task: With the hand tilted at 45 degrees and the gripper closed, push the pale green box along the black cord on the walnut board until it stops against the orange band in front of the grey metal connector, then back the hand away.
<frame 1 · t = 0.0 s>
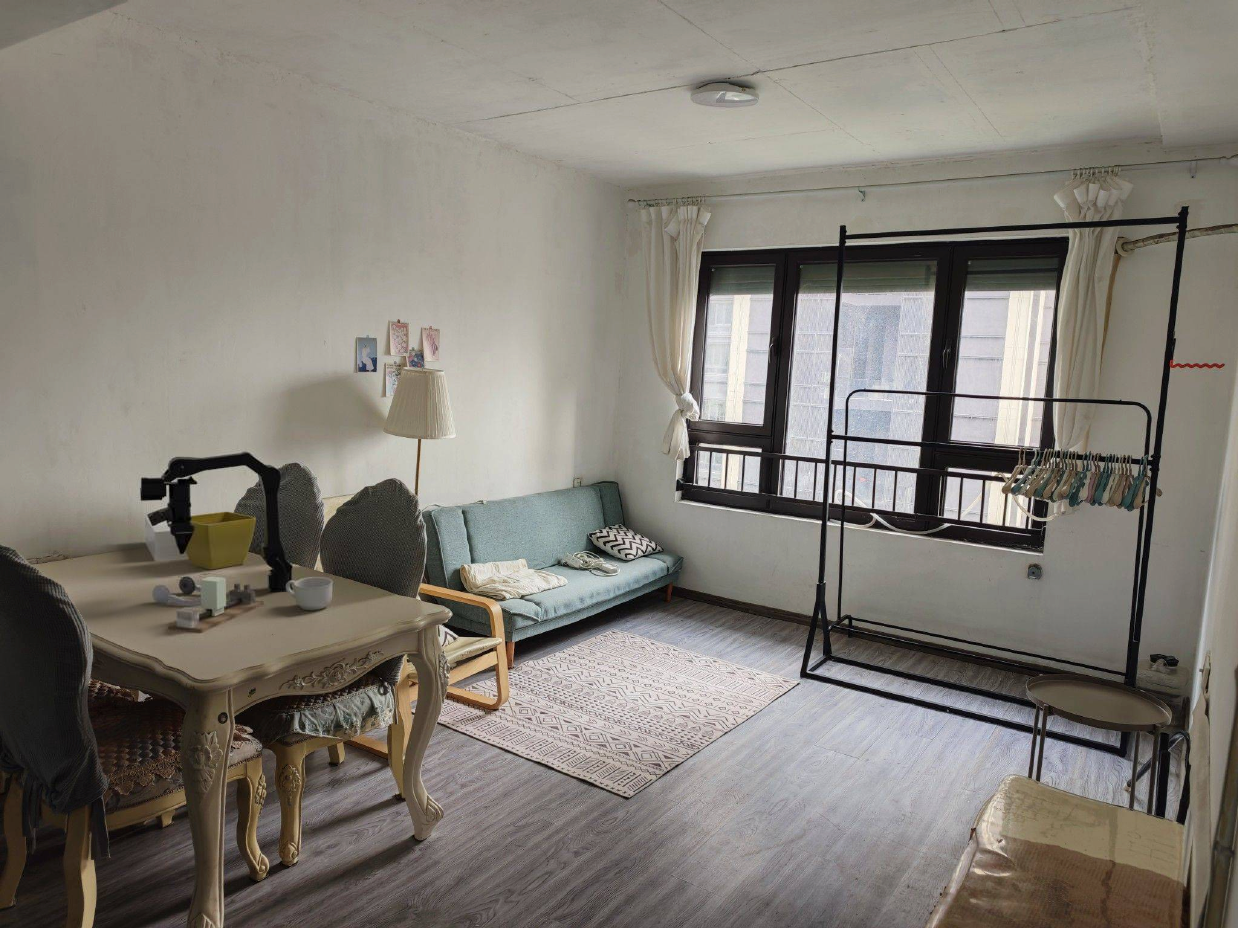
hand: (180, 550, 255), 15 cm above the table, tool pointing down, fingers open, 9 cm apart
flower pot: (217, 565, 299), on the table
pale green box: (213, 596, 238), point 6 cm above the table, slide at 0.0 cm
cord board: (218, 616, 241), on the table
teacup: (308, 607, 254), on the table
white rectangular box: (166, 551, 315), on the table
headphones: (186, 599, 257), on the table
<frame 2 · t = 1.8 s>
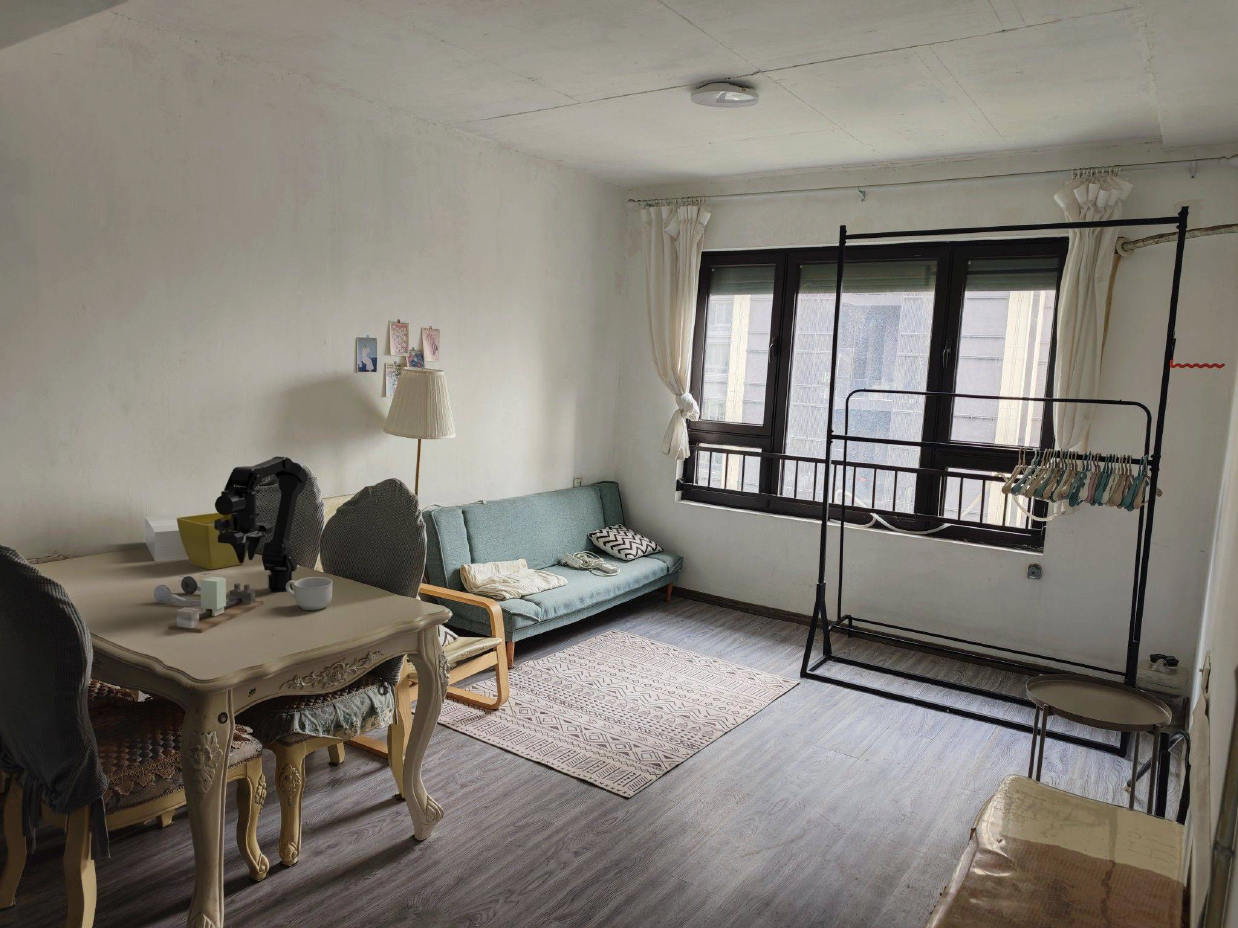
hand: (246, 561, 252), 13 cm above the table, tool pointing down, fingers open, 4 cm apart
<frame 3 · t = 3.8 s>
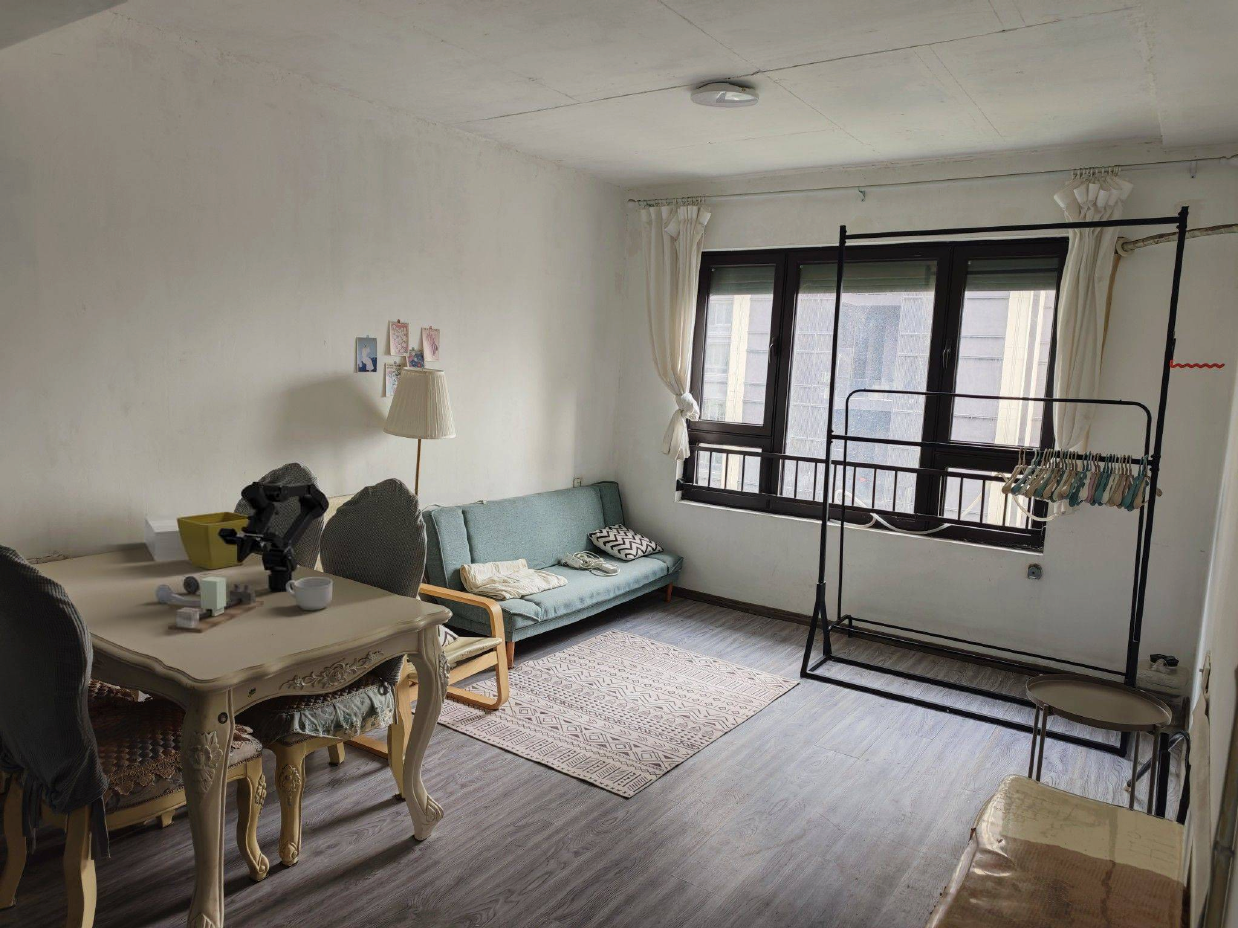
hand: (238, 562, 249), 14 cm above the table, tool tilted 45°, fingers closed
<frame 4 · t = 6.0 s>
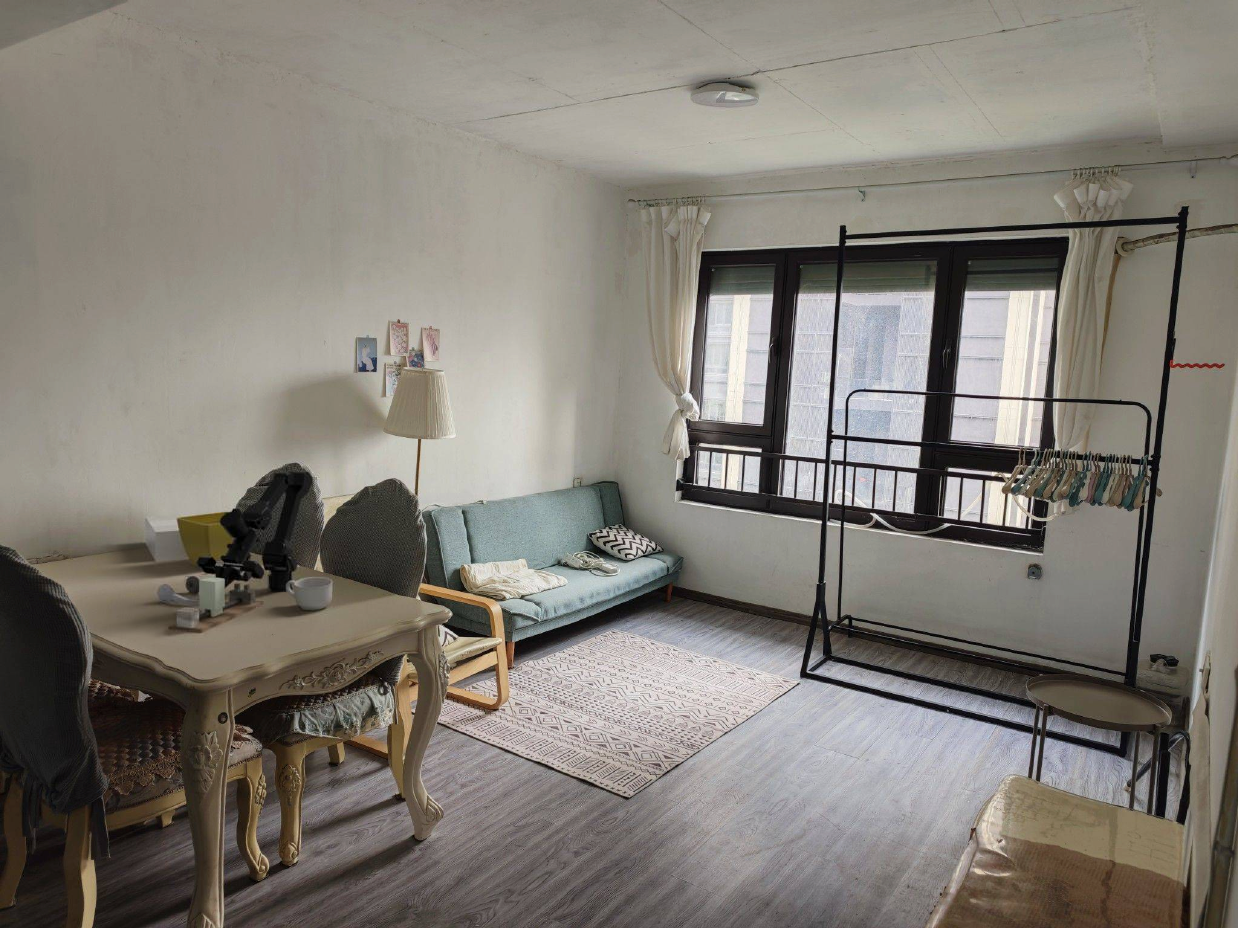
hand: (217, 592, 240), 7 cm above the table, tool tilted 45°, fingers closed
pale green box: (212, 596, 238), point 6 cm above the table, slide at 0.6 cm
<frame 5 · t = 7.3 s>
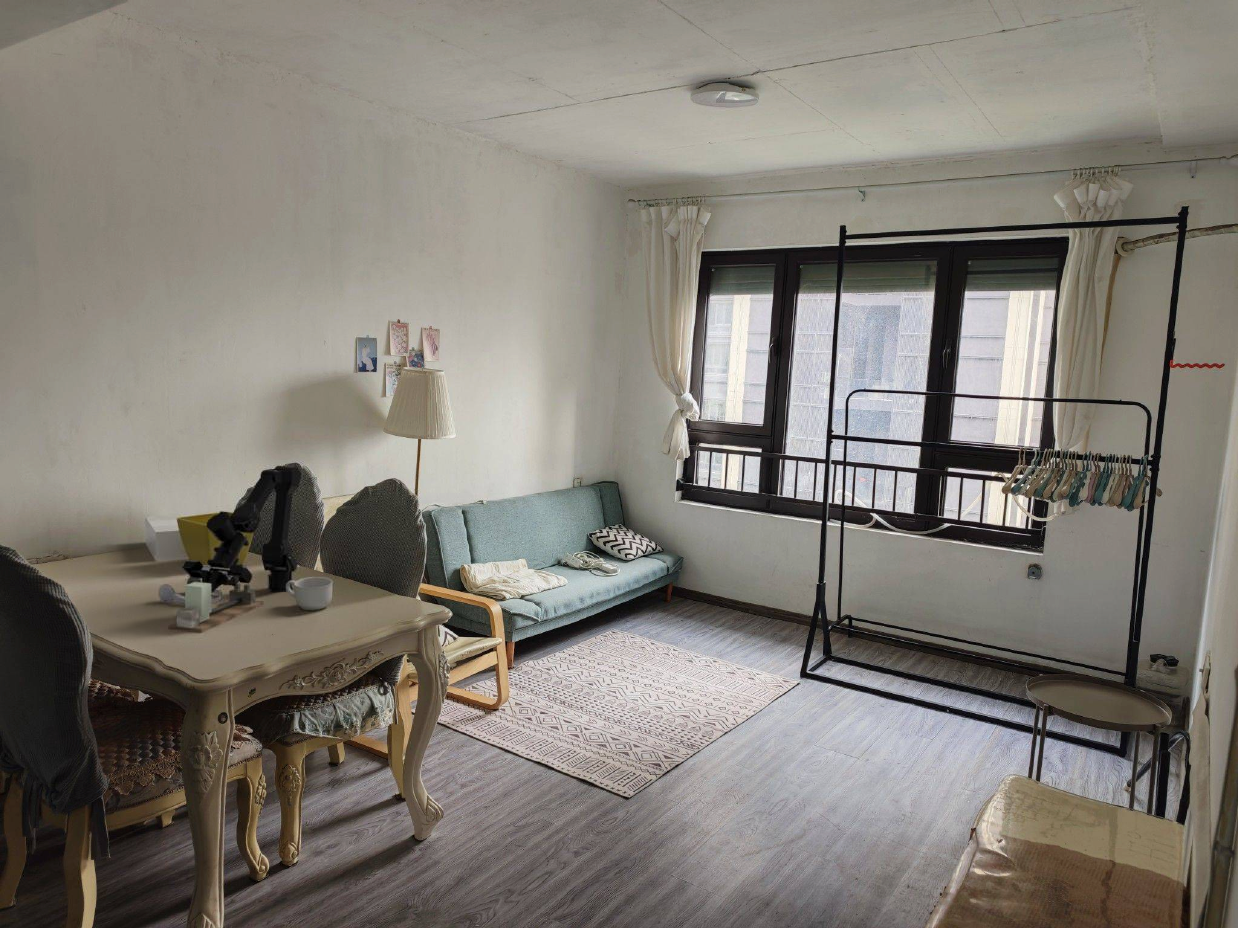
hand: (203, 597, 234), 7 cm above the table, tool tilted 45°, fingers closed, pressing on pale green box
pale green box: (198, 602, 232), point 6 cm above the table, slide at 6.3 cm, touching cord board, gripper
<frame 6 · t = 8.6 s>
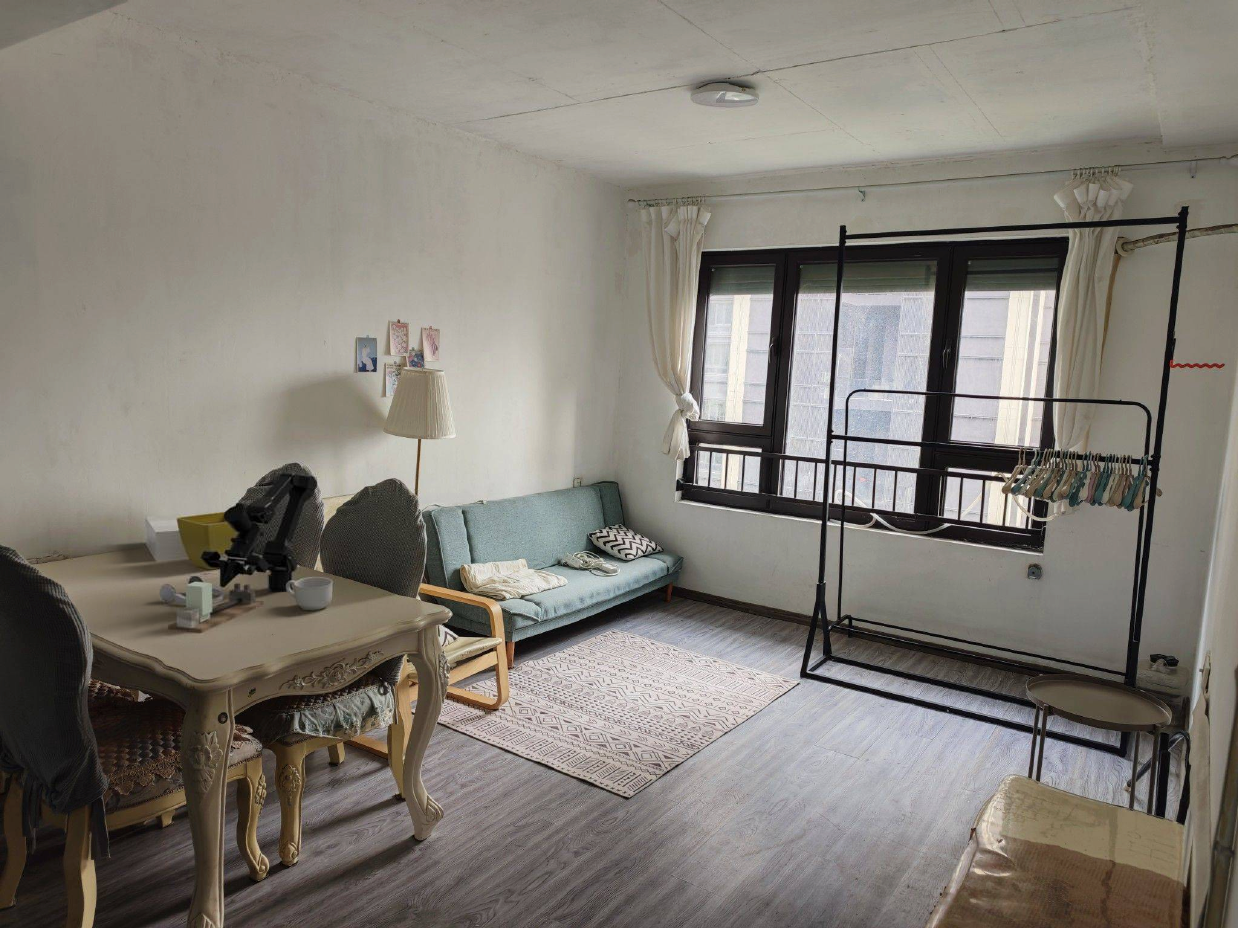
hand: (221, 586, 242), 8 cm above the table, tool tilted 45°, fingers closed
pale green box: (199, 601, 233), point 6 cm above the table, slide at 6.0 cm
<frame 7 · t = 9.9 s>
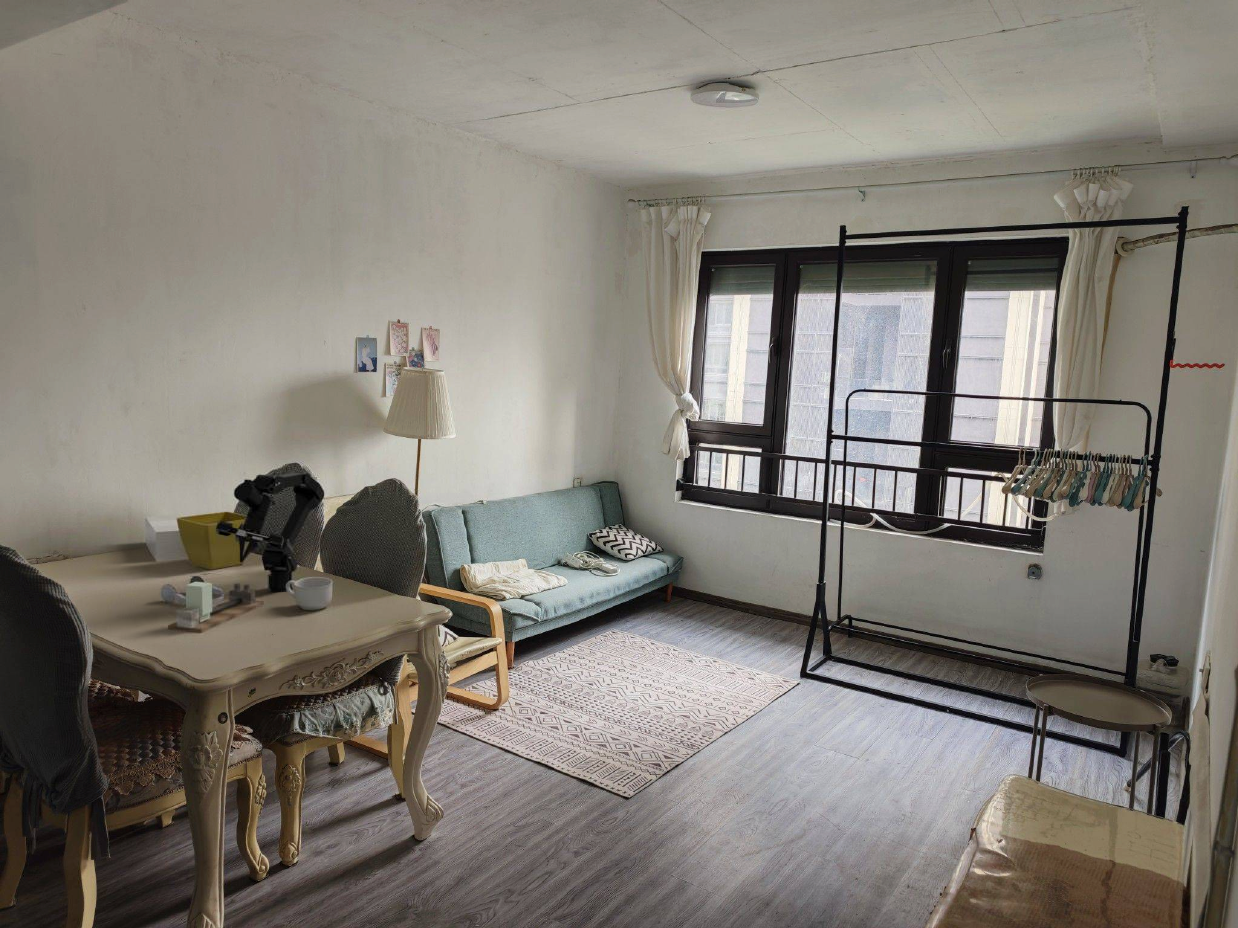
hand: (241, 562, 250), 13 cm above the table, tool tilted 30°, fingers closed
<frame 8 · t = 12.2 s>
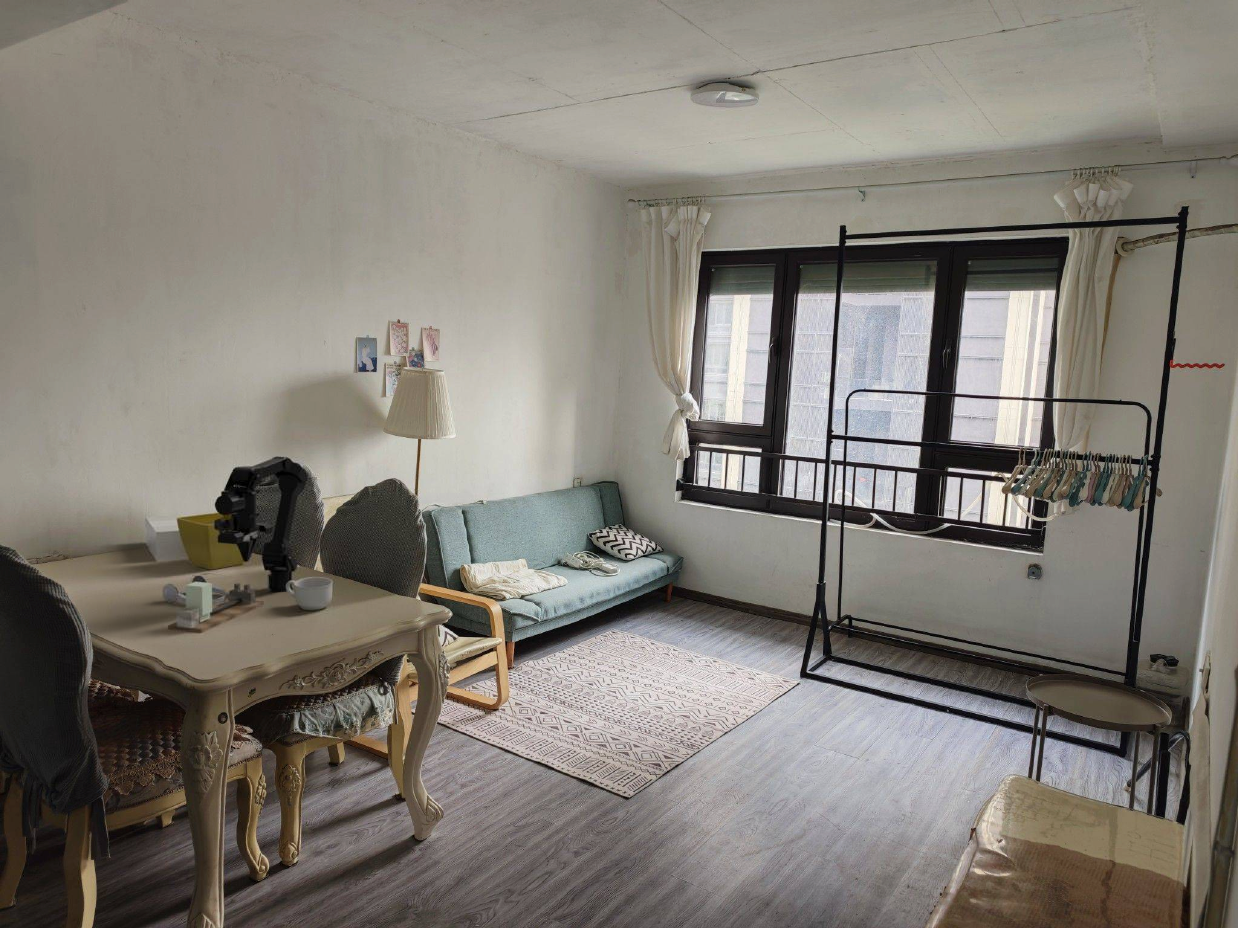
hand: (246, 561, 252), 13 cm above the table, tool pointing down, fingers closed
at the end: pale green box slide at 6.0 cm; the gripper is holding nothing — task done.
